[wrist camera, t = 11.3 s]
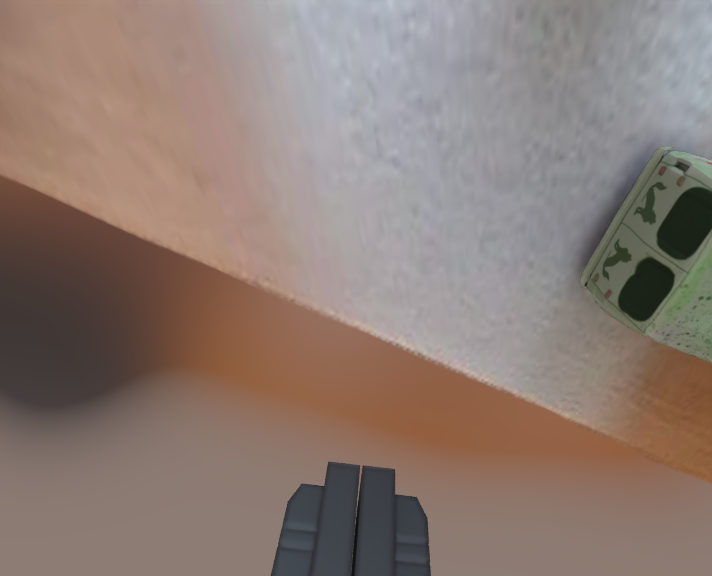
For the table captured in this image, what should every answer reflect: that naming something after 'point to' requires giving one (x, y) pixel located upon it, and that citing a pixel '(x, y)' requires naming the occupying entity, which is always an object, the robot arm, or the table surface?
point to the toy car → (661, 255)
